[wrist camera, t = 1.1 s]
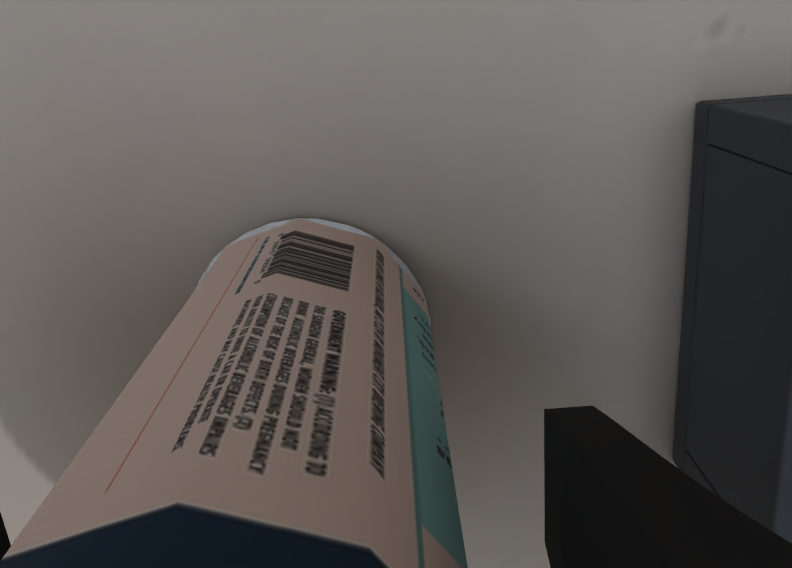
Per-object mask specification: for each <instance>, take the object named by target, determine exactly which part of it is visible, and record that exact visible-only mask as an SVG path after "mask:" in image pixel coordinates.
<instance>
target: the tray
mask: <svg viewBox="0 0 792 568" xmlns="http://www.w3.org/2000/svg"><path fill="white" fill-rule="evenodd" d="M673 461H674V463H675V464H676V466H677V467H678V469H680V470H681V471H682V472H684V473H685V474H687V475H688V476H689V477H691V478H692V479H694V480H695V481H696V482H698V483H699V484H701V485H702V486H704V487H705V488H707V489H708V490H709V491H711V492H712V493H714V494H715V495H717V496H718V497H720V498H721V499H723V500H724V501H726V502H727V503H729V504H730V505H732V506H733V507H735V508H736V509H738V510H739V511H741V512H742V513H744V514H745V515H747V516H749V517H750V518H752V519H753V520H755V521H757V522H758V523H760V524H761V525H763V526H765V527H766V528H768V529H769V530H771V531H773V532H774V533H776V534H777V535H779V536H781V537H782V538H784V539H785V540H787V541H789V542H790V543H792V94H789V95H776V96H763V97H750V98H737V99H724V100H711V101H701V102H698V103H697V107H696V122H695V137H694V152H693V168H692V183H691V198H690V213H689V228H688V243H687V258H686V274H685V289H684V304H683V319H682V334H681V349H680V365H679V380H678V395H677V410H676V425H675V440H674V455H673Z"/></svg>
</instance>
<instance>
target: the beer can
mask: <svg viewBox="0 0 792 568" xmlns="http://www.w3.org/2000/svg"><path fill="white" fill-rule="evenodd" d="M0 568H468V567H467V561H466V554H465V548H464V542H463V535H462V529H461V522H460V516H459V509H458V503H457V497H456V490H455V484H454V477H453V471H452V465H451V458H450V452H449V445H448V439H447V433H446V426H445V420H444V413H443V407H442V400H441V394H440V388H439V381H438V375H437V368H436V362H435V356H434V349H433V343H432V336H431V320H430V316H429V311H428V307H427V302H426V298H425V295H424V293H423V291H422V289H421V287H420V285H419V284H418V282H417V281H416V279H415V278H414V276H413V275H412V273H411V272H410V270H409V268H408V267H407V265H406V264H405V263H404V262H403V261H402V260H401V259H400V258H399V257H398V256H397V255H396V254H395V253H394V252H393V251H392V250H391V249H390V248H389V247H388V246H387V245H385V244H384V243H382V242H381V241H379V240H378V239H376V238H375V237H373V236H372V235H370V234H368V233H366V232H364V231H362V230H359V229H357V228H355V227H352V226H350V225H345V224H341V223H336V222H332V221H327V220H323V219H311V218H296V219H290V220H284V221H278V222H273V223H269V224H267V225H264V226H262V227H259V228H257V229H254V230H252V231H249V232H247V233H245V234H243V235H242V236H240V237H239V238H237V239H236V240H234V241H233V242H231V243H230V244H228V245H227V246H226V247H225V248H224V249H223V250H222V251H221V252H220V253H219V254H218V255H217V256H216V257H215V258H214V259H213V260H212V262H211V263H210V265H209V266H208V268H207V269H206V271H205V272H204V274H203V275H202V277H201V278H200V280H199V282H198V285H197V287H196V289H195V291H194V292H193V293H192V295H191V296H190V298H189V299H188V300H187V302H186V303H185V305H184V306H183V307H182V309H181V310H180V312H179V313H178V314H177V316H176V317H175V319H174V320H173V321H172V323H171V324H170V326H169V327H168V328H167V330H166V331H165V332H164V334H163V335H162V337H161V338H160V339H159V341H158V342H157V344H156V345H155V346H154V348H153V349H152V351H151V352H150V353H149V355H148V356H147V358H146V359H145V360H144V362H143V363H142V365H141V366H140V367H139V369H138V370H137V371H136V373H135V374H134V376H133V377H132V378H131V380H130V381H129V383H128V384H127V385H126V387H125V388H124V390H123V391H122V392H121V394H120V395H119V397H118V398H117V399H116V401H115V402H114V404H113V405H112V406H111V408H110V409H109V410H108V412H107V413H106V415H105V416H104V417H103V419H102V420H101V422H100V423H99V424H98V426H97V427H96V429H95V430H94V431H93V433H92V434H91V436H90V437H89V438H88V440H87V441H86V443H85V444H84V445H83V447H82V448H81V449H80V451H79V452H78V454H77V455H76V456H75V458H74V459H73V461H72V462H71V463H70V465H69V466H68V468H67V469H66V470H65V472H64V473H63V475H62V476H61V477H60V479H59V480H58V481H57V483H56V484H55V486H54V487H53V488H52V490H51V491H50V493H49V494H48V496H47V497H46V498H45V500H44V501H43V502H42V504H41V505H40V507H39V508H38V509H37V511H36V512H35V514H34V515H33V516H32V518H31V519H30V520H29V522H28V523H27V525H26V526H25V528H24V529H23V530H22V532H21V533H20V534H19V536H18V537H17V539H16V540H15V541H14V543H13V544H12V546H11V547H10V548H9V550H8V551H7V553H6V554H5V555H4V557H3V558H2V559H1V561H0Z"/></svg>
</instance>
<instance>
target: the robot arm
mask: <svg viewBox="0 0 792 568" xmlns="http://www.w3.org/2000/svg"><path fill="white" fill-rule="evenodd" d="M544 462H545V545H546V549H547V553H548V558H549V562H550V566H551V568H792V543H790V542H789V541H787V540H785V539H784V538H782V537H781V536H779V535H777V534H776V533H774V532H773V531H771V530H769V529H768V528H766V527H765V526H763V525H761V524H760V523H758V522H757V521H755V520H753V519H752V518H750V517H749V516H747V515H745V514H744V513H742V512H741V511H739V510H738V509H736V508H735V507H733V506H732V505H730V504H729V503H727V502H726V501H724V500H723V499H721V498H720V497H718V496H717V495H715V494H714V493H712V492H711V491H709V490H708V489H707V488H705V487H704V486H702V485H701V484H699V483H698V482H696V481H695V480H694V479H692V478H691V477H689V476H688V475H687V474H685V473H684V472H682V471H681V470H680V469H678V468H677V467H675V466H674V465H673V464H671V463H670V462H669V461H667V460H666V459H664V458H663V457H662V456H660V455H659V454H658V453H656V452H655V451H654V450H652V449H651V448H650V447H648V446H647V445H646V444H644V443H643V442H642V441H640V440H639V439H638V438H636V437H635V436H634V435H632V434H631V433H630V432H628V431H627V430H626V429H624V428H623V427H622V426H620V425H619V424H618V423H616V422H615V421H614V420H612V419H611V418H610V417H608V416H607V415H605V414H604V413H603V412H601V411H600V410H598V409H597V408H595V407H594V406H581V407H567V408H554V409H544ZM10 547H11V545H10V542H9V538H8V535H7V532H6V529H5V526H4V522H3V519H2V516H1V513H0V561H1V559H2V558H3V557H4V555H5V554H6V553H7V551H8V550H9V548H10Z"/></svg>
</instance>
